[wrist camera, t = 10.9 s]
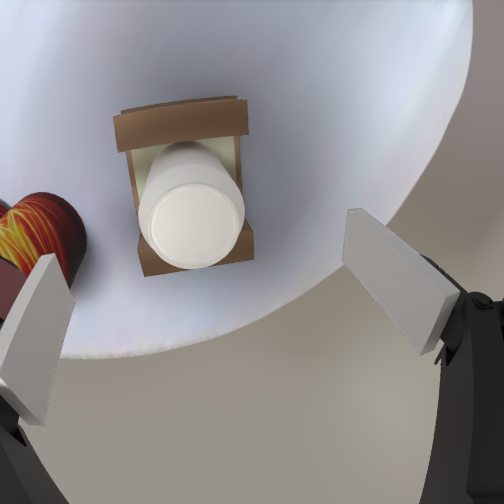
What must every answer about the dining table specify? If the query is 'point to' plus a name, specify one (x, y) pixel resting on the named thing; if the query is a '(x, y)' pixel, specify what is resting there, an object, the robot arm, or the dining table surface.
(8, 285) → the mug
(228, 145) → the post bracket
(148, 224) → the beverage can
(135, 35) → the dining table surface
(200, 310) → the dining table surface
